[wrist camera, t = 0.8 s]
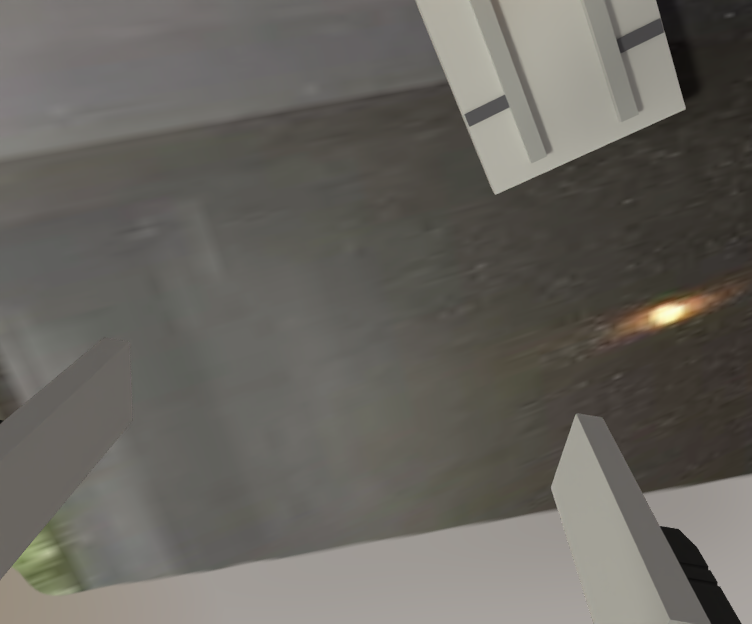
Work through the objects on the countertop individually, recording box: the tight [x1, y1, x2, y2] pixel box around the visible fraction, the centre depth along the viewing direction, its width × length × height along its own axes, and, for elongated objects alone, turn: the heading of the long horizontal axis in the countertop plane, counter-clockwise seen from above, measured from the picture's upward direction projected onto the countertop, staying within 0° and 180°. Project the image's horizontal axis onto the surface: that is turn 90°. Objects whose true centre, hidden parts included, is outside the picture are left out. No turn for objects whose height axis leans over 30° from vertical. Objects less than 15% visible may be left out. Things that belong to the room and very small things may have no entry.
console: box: [415, 0, 686, 195], centre depth 32 cm, size 18×12×3 cm, turn 26°
